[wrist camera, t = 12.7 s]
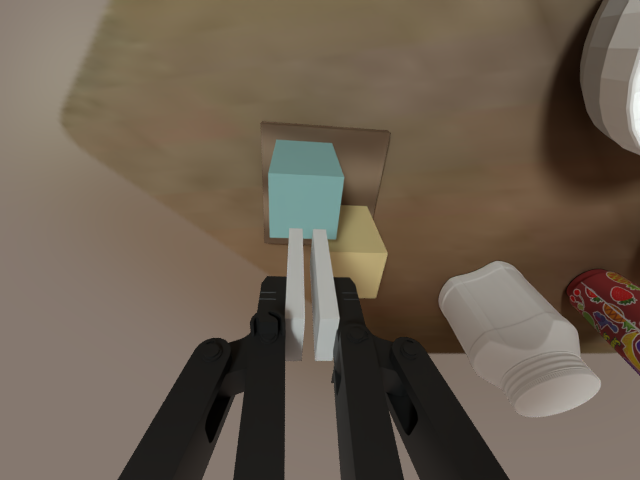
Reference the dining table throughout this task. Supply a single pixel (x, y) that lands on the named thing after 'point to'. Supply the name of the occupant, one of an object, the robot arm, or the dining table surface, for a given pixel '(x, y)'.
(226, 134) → the dining table surface
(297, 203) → the teal rectangular block
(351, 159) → the board
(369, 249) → the pale yellow block
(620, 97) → the bowl
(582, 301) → the smoothie
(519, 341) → the jar
